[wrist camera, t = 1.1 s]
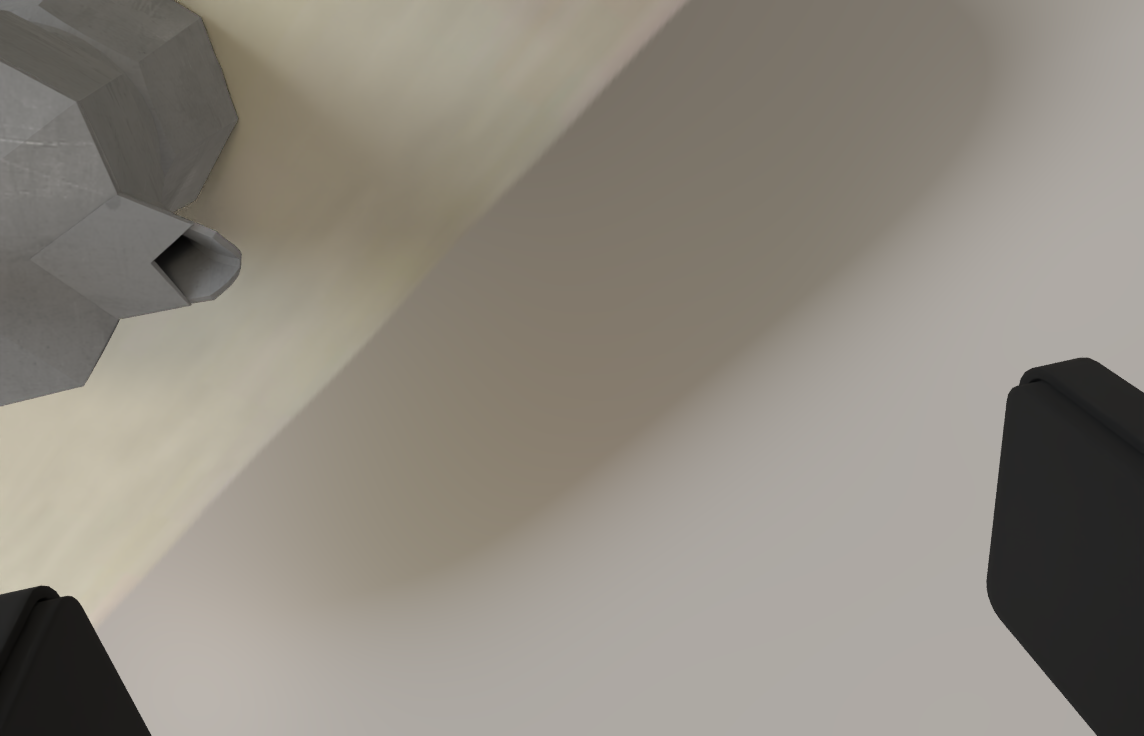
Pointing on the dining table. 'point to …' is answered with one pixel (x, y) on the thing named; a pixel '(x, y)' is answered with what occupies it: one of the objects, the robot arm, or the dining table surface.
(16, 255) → the coffeepot
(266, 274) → the dining table surface
